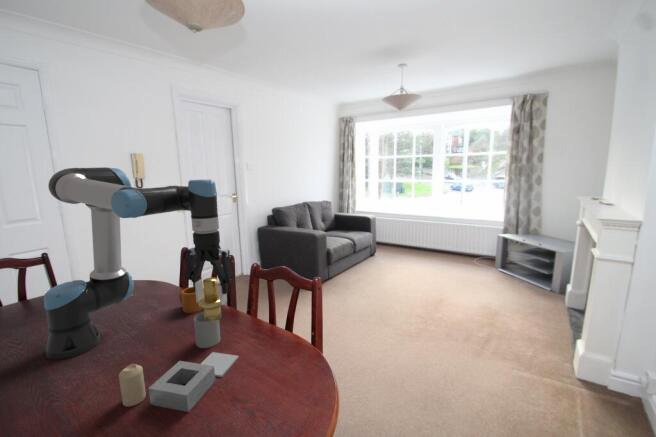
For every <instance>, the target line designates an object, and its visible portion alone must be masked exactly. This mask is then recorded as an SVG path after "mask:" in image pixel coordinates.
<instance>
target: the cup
mask: <svg viewBox="0 0 656 437" xmlns="http://www.w3.org/2000/svg"><path fill="white" fill-rule="evenodd" d="M193 323H194V324H193V326H194V335H195V336H194V337H195V346H196V347H197V348H200V349H208V348H213V347H215V346H217V345H218V344H219V343H220V342H221V330H220V319H219V320H217V321H213V322H207V321H205V319H204V311H203V312H200V313H198V314H196V315H195V316H194V318H193Z"/></svg>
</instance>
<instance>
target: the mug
mask: <svg viewBox="0 0 656 437" xmlns="http://www.w3.org/2000/svg"><path fill="white" fill-rule="evenodd" d="M178 300H179V303H180V305H181V306H182V311H183V313H187V314H192V313H193V314H194V313H198V312H200V311H201V310H203V309H201V308H199V303H197V302H196V291H194V289H193V286H191V287H186V288H183V289H181V290H180V291H179V294H178Z"/></svg>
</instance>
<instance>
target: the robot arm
mask: <svg viewBox="0 0 656 437" xmlns="http://www.w3.org/2000/svg"><path fill="white" fill-rule="evenodd" d="M187 184H188V185H187V186H183V185H176V184H175V185H167V186H161V187H148V188H147V187H145V188H139V187H133V186H132V183H131V180H130V178H129V177H128V176H127V174H126V173H125V172H124V171H123V170H121V169H119V168H116V167H109V166H108V167H71V168H64V169H61V170H59V171H57V172H55V173H54V174H53V175H52V176H51V177H50V179H49V180H48V185H47V186H48V191H49V192H50V195H51V196H53V198H55V199H56V200H58V201H59V202H62V203H66V204H71V205H78V204H85V206H86V207H87V208H89V209H90V213H91V214H90V216H91V217H90V218H91V231H92V234H91V235H92V236H91V237H92V252H93V253H92V254H93V270H92V271H91V272H90V273H89V280H88V281H85V280H83V279H75V280H71V281H66V282H63V283H59V284H57V285H54V286H53V287H52V288H50V289H48V291H46V293H44V295H43V308H44V311H45V315H46V321H47V326H48V332H49V334H48V337H47V338H48V339H47V343H46V347H45V350H44V351H45V356H46V358H47V359H49V360H65V359H70V358H72V357H76V356H80V355H82V354H84V353H87V352H88V351H90V350H92V349H93V348H95V347H97V346H98V345H99V343H100V342H101V336H100V335H101V334H100V332H99V331H98V329H97V328H96V326H95V324H94V323H93V321H92V315H91V314H92V313H96V312H98V311H100V310H103V309H105V308H107V307H110V306H113V305H115V304H119V303H121V302H122V301H125V300H127V299H129V297H131V295H132V294H133V291H134V285H135V284H134V280H133V277H132V275H131V273H129V272H128V271H127V269H126V268H124V267H123V266H122V240H121V219H130V218H131V219H135V218H139V217H145V216H146V217H147V216H152V215H158V214H166V213H170V212H178V211H179V212H180V211H185V212H186V211H189V212H190V218H191V219H190V220H191V230H192V232H193V233H192V240H193V242H192V244H193V245H194V247H191V248H187V249H186V250H185V253H186V257H187V258H186V259H187V260H186V275H185V276H186V280H187V281H191V282H192V287H193V289H194V291H196V302H197V303H199V301H200V300H201V299H202V298H204V286H203V279H202V273H203V269H204V266H205V263H206V262H209V263H210V265H212V267H213V269H214V271H215V273H216V276H217V278H218V280H219V284H217V287H218V295H219V299H220V305H222V306H224V305H225V303H227V302H228V298H227V296H228V295H227V294H228V293H229V283H231V282H232V281H233V280H234V279H235V278H234V274H233V270H232V265H231V261H230V260H231V259H230V250H229V249H226V250H225V249H222V247H221V246H220V242H221V236H220V231H219V229H220V225H219V224H220V223H219V222H220V221H219V212H218V211H219V210H218V193H217V186H216V182H215V180H213V179H190V180H189V181H188V183H187Z"/></svg>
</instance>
